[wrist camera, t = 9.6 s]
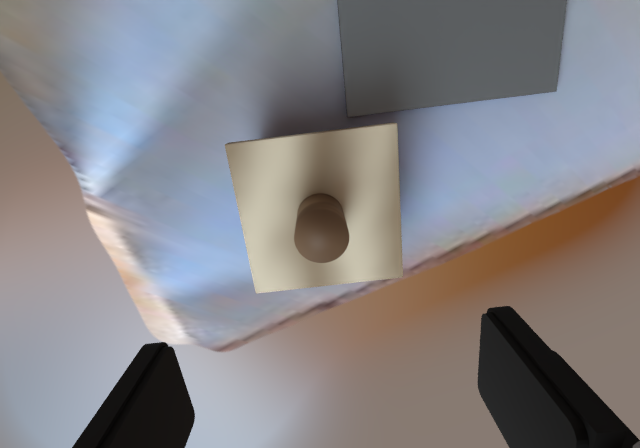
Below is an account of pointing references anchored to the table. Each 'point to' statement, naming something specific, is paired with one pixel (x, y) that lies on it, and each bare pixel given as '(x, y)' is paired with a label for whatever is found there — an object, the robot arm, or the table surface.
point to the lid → (320, 206)
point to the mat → (447, 51)
